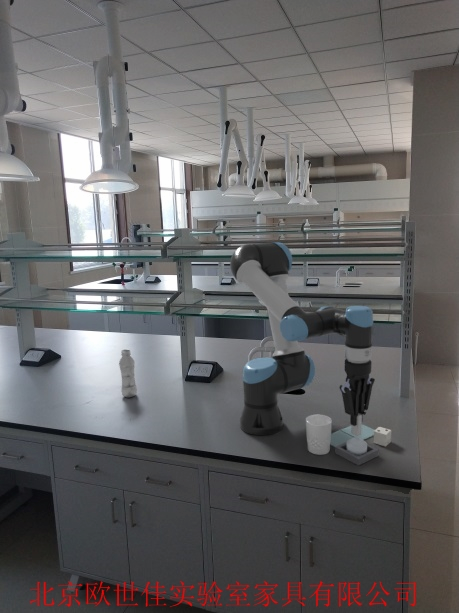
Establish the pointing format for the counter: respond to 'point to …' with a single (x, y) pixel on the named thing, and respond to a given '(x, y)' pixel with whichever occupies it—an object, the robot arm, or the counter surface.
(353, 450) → the dome
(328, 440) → the white cup
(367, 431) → the tile
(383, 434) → the die
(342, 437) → the tile
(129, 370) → the plastic bottle
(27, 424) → the counter surface
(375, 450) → the frame
